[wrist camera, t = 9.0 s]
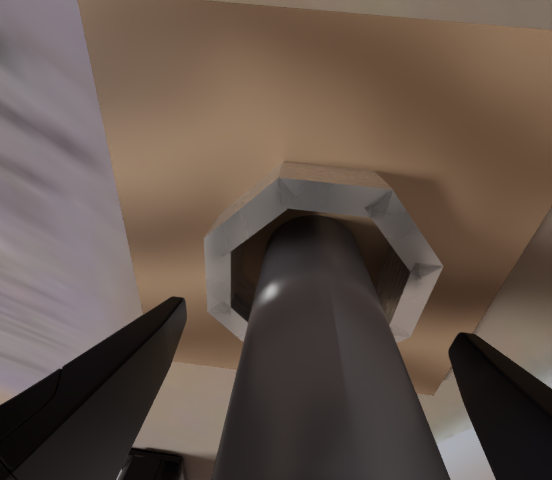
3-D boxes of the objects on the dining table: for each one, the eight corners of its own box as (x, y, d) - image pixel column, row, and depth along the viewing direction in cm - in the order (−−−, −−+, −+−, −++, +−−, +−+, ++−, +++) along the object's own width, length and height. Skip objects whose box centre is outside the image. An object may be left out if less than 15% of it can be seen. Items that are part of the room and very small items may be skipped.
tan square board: (425, 377, 17) (433, 395, 16) (161, 343, 18) (152, 358, 17) (613, 46, 9) (655, 39, 8) (100, 1, 10) (75, -11, 8)
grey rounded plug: (347, 299, 13) (415, 585, 6) (262, 288, 14) (209, 552, 6) (369, 221, 11) (528, 500, 3) (268, 209, 11) (197, 452, 4)
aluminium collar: (378, 333, 14) (392, 375, 12) (222, 313, 15) (209, 351, 12) (438, 177, 10) (475, 198, 8) (220, 154, 11) (199, 168, 8)
